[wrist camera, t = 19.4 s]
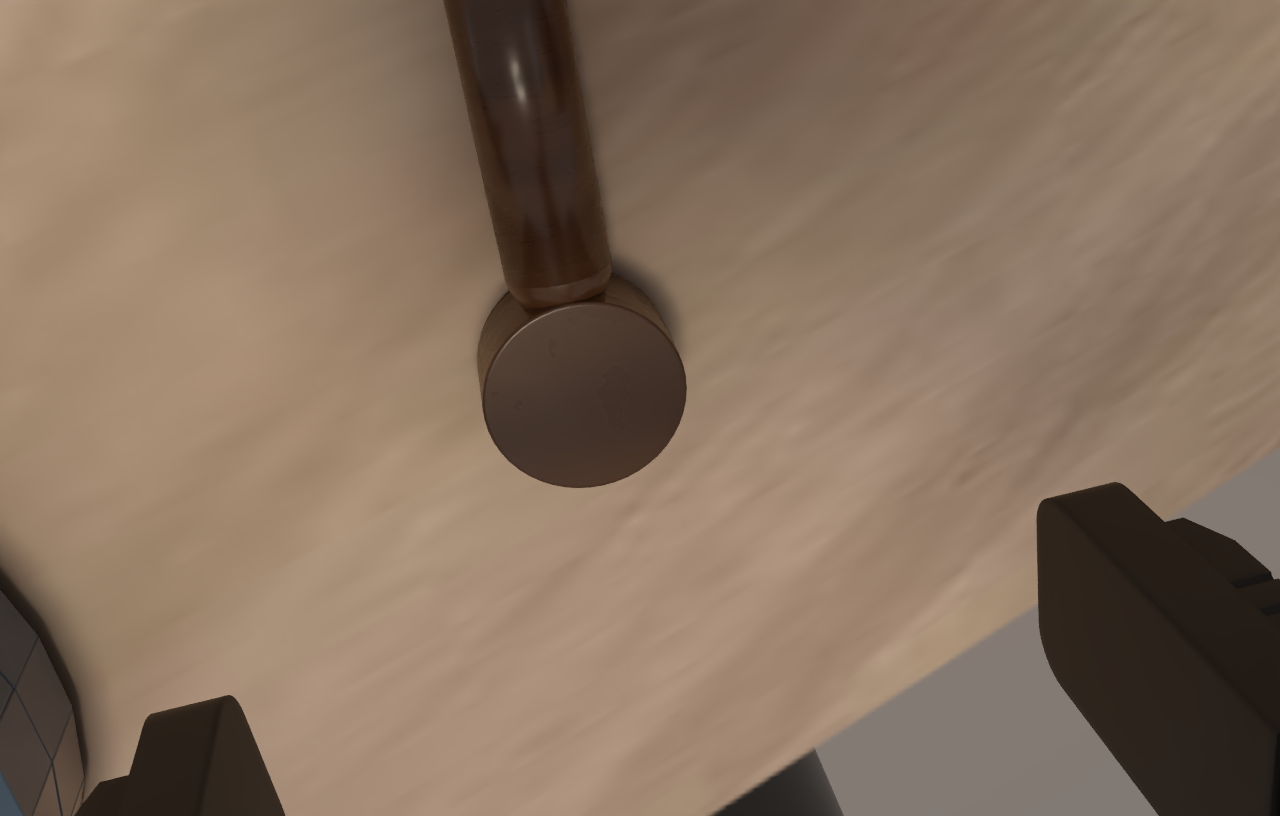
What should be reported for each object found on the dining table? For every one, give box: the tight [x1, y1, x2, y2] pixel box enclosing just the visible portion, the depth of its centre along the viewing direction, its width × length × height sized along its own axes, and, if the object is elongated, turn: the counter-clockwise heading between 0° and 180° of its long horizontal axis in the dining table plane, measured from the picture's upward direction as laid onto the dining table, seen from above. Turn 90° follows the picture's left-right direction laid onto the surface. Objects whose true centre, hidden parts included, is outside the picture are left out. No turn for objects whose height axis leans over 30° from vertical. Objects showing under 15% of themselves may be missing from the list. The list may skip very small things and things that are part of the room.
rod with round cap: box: [443, 0, 687, 488], centre depth 28 cm, size 16×5×3 cm, turn 9°
